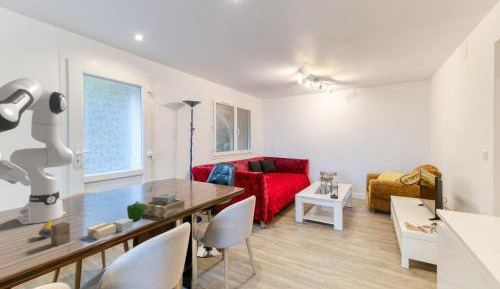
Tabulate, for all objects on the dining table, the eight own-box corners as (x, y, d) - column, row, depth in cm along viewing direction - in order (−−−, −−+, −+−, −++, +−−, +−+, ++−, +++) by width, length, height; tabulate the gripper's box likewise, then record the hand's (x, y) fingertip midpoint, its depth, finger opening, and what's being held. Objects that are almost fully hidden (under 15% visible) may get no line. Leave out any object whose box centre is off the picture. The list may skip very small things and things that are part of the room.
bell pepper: (125, 218, 124) (125, 200, 124) (141, 215, 129) (141, 198, 129) (129, 223, 118) (129, 204, 117) (145, 219, 123) (145, 201, 123)
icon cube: (176, 209, 141) (176, 193, 141) (168, 214, 132) (168, 197, 131) (161, 208, 143) (161, 192, 142) (152, 213, 133) (152, 196, 133)
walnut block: (51, 244, 94) (50, 225, 94) (63, 239, 98) (63, 221, 98) (57, 246, 92) (57, 227, 92) (69, 241, 96) (69, 223, 96)
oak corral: (142, 213, 132) (142, 203, 132) (163, 205, 147) (163, 196, 147) (164, 218, 125) (164, 207, 125) (184, 209, 141) (184, 199, 141)
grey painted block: (113, 230, 109) (113, 222, 109) (123, 225, 114) (123, 218, 114) (122, 232, 107) (122, 223, 107) (132, 227, 112) (132, 219, 112)
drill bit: (34, 241, 97) (39, 220, 103) (49, 242, 101) (52, 222, 107) (41, 235, 96) (46, 214, 102) (56, 236, 100) (59, 216, 106)
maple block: (87, 237, 101) (87, 228, 101) (105, 230, 109) (105, 222, 109) (98, 240, 98) (98, 231, 98) (115, 233, 105) (115, 225, 105)
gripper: (7, 153, 72) (45, 178, 81) (-22, 151, 80) (15, 174, 89) (-12, 168, 68) (30, 193, 77) (-42, 165, 76) (0, 188, 85)
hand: (22, 183), depth 83 cm, fingers open, 8 cm apart
